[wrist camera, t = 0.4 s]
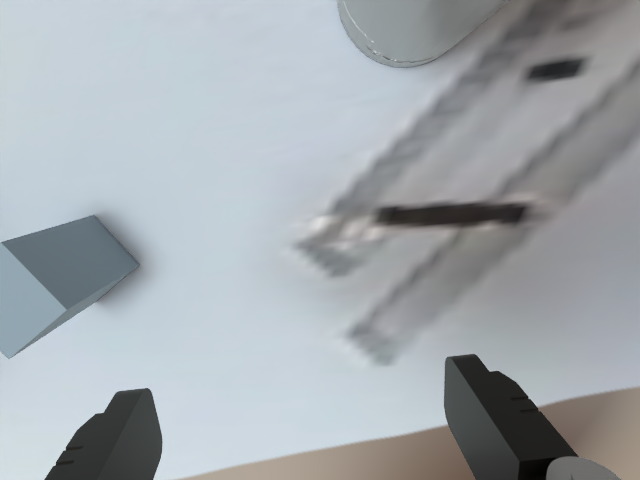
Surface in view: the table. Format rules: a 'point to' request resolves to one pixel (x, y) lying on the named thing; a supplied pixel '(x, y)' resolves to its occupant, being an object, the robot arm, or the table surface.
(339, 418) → the table surface
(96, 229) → the slate block
